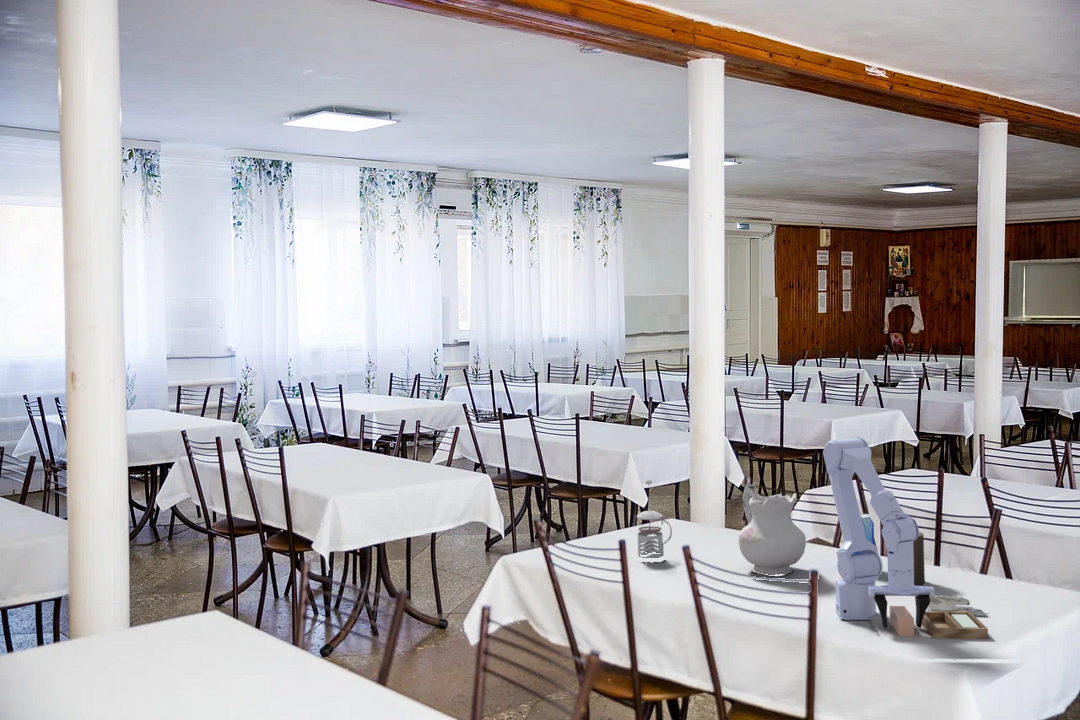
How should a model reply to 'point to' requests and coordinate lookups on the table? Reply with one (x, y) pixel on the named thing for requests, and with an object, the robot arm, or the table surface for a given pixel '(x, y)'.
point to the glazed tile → (964, 621)
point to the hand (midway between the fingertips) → (901, 626)
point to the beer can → (867, 529)
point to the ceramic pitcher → (770, 533)
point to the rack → (952, 626)
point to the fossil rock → (953, 605)
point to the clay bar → (902, 621)
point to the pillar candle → (918, 560)
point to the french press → (649, 530)
